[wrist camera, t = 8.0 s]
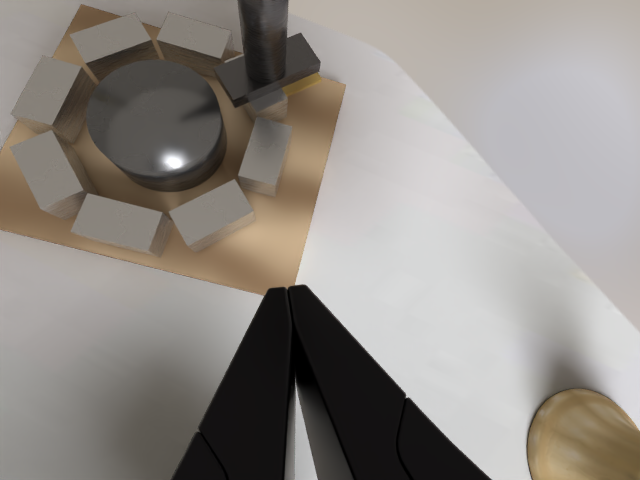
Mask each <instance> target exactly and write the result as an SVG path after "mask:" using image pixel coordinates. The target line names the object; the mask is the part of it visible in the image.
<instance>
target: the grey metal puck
mask: <svg viewBox="0 0 640 480" xmlns="http://www.w3.org/2000/svg"><path fill="white" fill-rule="evenodd" d="M86 122H87V128H88V132H89V134H90V136H91V139H92V140H93V142H94V144H95V145H96V147H97V148H98V149H99V150H100V151H101V152H102V153H103V154H104V155H105V156H106V157H107V158H108V159H109V160H110V161H111V162H112V163H113V164H114V165H116V166H117V167H118V168H119V169H120V170H121V171H122V172H123V173H124V174H125V175H126V176H127V177H128V178H130V179H131V180H132V181H133V182H135V183H137V184H138V185H140V186H142V187H144V188H147V189H150V190H154V191H159V192H179V191H184V190H188V189H191V188H193V187H196V186H198V185H200V184H202V183H203V182H205V181H206V180H208V179H209V178H210V177H211V176H212V175H213V174H214V173H215V172H216V171H217V170H218V168H219V167H220V165H221V164H222V162H223V160H224V157H225V154H226V150H227V134H226V129H225V125H224V122H223V118H222V114H221V110H220V107H219V103H218V100H217V97H216V95H215V93H214V91H213V89H212V88H211V86H210V85H209V83H208V82H207V81H206V80H205V79H204V78H203V77H202V76H200V75H199V74H198V73H197V72H195V71H193V70H192V69H190V68H188V67H186V66H184V65H181V64H178V63H175V62H171V61H165V60H143V61H138V62H133V63H130V64H127V65H125V66H122V67H120V68H118V69H116V70H115V71H113V72H111V73H110V74H109V75H107V76H106V77H105V78H104V79H103V80H102V81H101V82H100V83H99V84H98V85H97V87H96V88H95V89H94V91H93V93H92V95H91V97H90V99H89V102H88V106H87V110H86Z"/></svg>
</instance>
